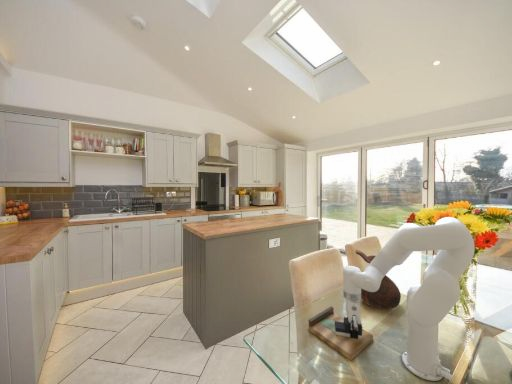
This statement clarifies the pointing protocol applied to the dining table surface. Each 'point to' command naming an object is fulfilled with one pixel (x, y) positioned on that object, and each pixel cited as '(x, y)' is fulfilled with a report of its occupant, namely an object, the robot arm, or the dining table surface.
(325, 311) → the sharpening stone holder
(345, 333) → the black block white base
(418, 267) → the dining table surface
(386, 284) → the jug
